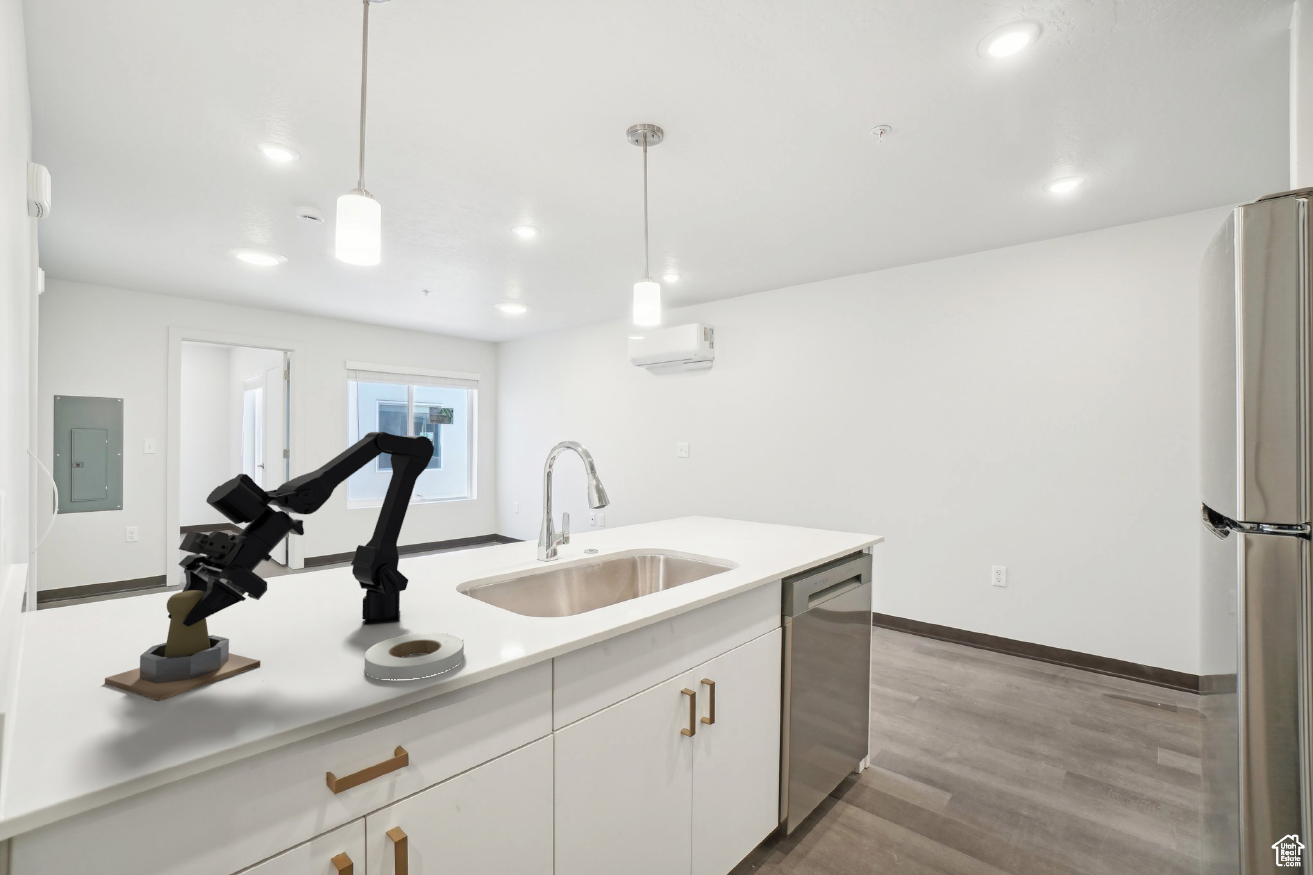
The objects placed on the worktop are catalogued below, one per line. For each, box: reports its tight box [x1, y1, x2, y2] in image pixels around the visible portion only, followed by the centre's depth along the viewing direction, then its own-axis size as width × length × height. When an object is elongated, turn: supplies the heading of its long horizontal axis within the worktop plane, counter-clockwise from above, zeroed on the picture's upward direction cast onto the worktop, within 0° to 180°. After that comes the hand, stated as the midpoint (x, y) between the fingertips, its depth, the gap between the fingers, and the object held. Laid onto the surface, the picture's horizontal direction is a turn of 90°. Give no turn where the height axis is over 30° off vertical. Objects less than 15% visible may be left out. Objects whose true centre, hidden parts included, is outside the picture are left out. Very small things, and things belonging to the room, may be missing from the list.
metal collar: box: [139, 634, 230, 684], centre depth 90 cm, size 10×10×4 cm
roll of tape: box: [364, 632, 465, 680], centre depth 96 cm, size 16×15×3 cm
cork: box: [164, 590, 210, 657], centre depth 90 cm, size 6×6×11 cm
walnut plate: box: [104, 652, 261, 702], centre depth 90 cm, size 14×14×1 cm
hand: (177, 621), depth 89 cm, fingers closed on cork, 5 cm apart
